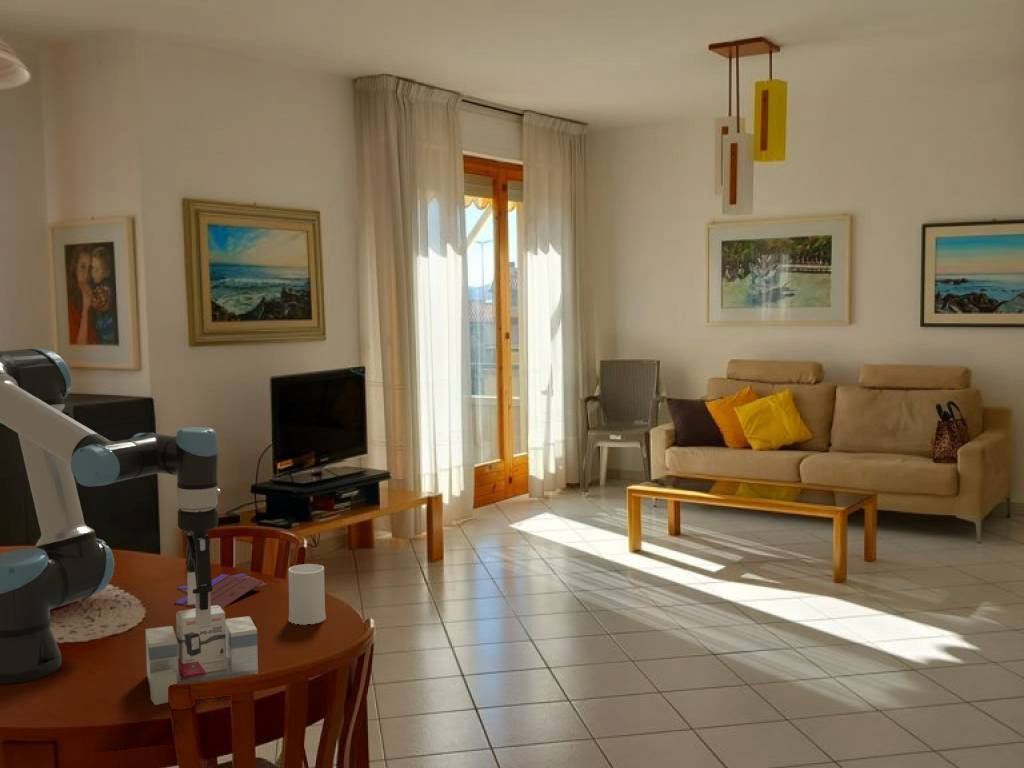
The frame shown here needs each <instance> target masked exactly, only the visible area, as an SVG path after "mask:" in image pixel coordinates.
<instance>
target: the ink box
mask: <svg viewBox="0 0 1024 768" xmlns="http://www.w3.org/2000/svg"><path fill="white" fill-rule="evenodd" d="M175 616H176V617H175V618H176V620H175V621H176V639H177V649H178V656H177V659H178V670H179V672H180V673H181V675H182V676H183V677H185V676H191V675H196V674H202V673H208V672H214V671H219V670H225V669H226V636H225V619H226V612H225V610H224V608H221V607H220V606H218V605H215V606H211V625H203V626H196V609H195V608H190V609H189V608H188V609H184V610H183V609H182V610H179V611H177V612H176V614H175Z"/></svg>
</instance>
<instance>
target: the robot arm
mask: <svg viewBox="0 0 1024 768" xmlns="http://www.w3.org/2000/svg"><path fill="white" fill-rule="evenodd" d="M71 387H72V376H71V371H70V369H69V367H68V365H67V363H66V362H65V360H64V359H63V358H62V357H61V356H60V355H59V354H57V353H56V352H55V351H53V350H49V349H44V348H43V349H42V348H41V349H38V348H28V349H24V348H23V349H12V350H0V424H2V425H4V426H5V427H7V428H9V429H11V430H12V431H13V432H16V434H17V436H18V439H19V443H20V444H19V445H20V449H21V453H22V457H23V462H24V467H25V470H26V474H27V479H28V483H29V487H30V491H31V492H30V493H31V495H32V499H33V500H32V501H33V504H34V508H35V512H36V513H35V514H36V517H37V521H38V525H39V529H40V530H39V531H40V534H41V535H40V537H39V539H38V540H37V542H36V543H35V547H27V548H21V549H19V550H17V549H16V550H15V549H14V550H13V549H12V550H9V551H7V552H6V551H5V552H3V553H1V554H0V685H2V684H3V685H5V684H15V683H16V684H17V683H23V682H29V681H33V680H37V679H40V678H43V677H45V676H46V677H47V676H49V675H51V674H53V673H55V672H56V671H58V670H59V669H60V668H61V667H62V653H61V650H60V647H59V645H58V643H57V641H56V638H55V635H54V633H53V631H52V628H51V613H50V612H51V610H53V609H56V608H59V607H62V606H65V605H69V604H71V603H74V602H77V601H80V600H84V599H88V598H91V597H92V596H94V595H96V594H100V592H102V591H104V590H105V589H106V588H107V586H109V584H110V581H111V580H112V578H113V576H114V571H115V559H114V554H113V552H112V549H111V548H110V546H109V545H107V542H105V540H103V539H100V538H97V537H96V532H95V529H93V528H91V527H89V526H87V524H86V522H85V519H84V515H83V510H82V506H81V502H80V497H79V493H78V489H77V485H76V482H77V483H78V484H80V485H82V486H83V487H87V488H89V487H90V488H91V487H97V486H98V487H103V486H107V485H110V484H114V483H118V482H122V481H126V480H131V479H136V478H140V477H147V476H151V475H155V474H156V475H157V474H166V475H173V476H176V477H177V478H176V481H177V482H176V484H177V485H176V506H177V507H178V508H179V509H178V510H177V527H178V529H179V530H181V531H184V532H187V536H186V559H185V565H186V570H187V572H186V575H187V576H186V577H187V579H186V582H187V594H186V596H187V595H188V605H189V604H195V607H194V609H196V626H203V625H211V591H212V589H213V588H212V582H211V580H212V569H211V568H212V567H211V551H210V546H211V538H210V537H209V535H208V534H207V531H209V530H214V529H215V528H217V527H218V525H219V509H218V507H217V505H218V504H219V503H218V502H219V501H218V495H220V494H221V493H222V491H221V489H220V488H218V485H219V483H218V468H219V467H218V466H219V465H218V464H219V460H218V459H219V447H218V446H219V445H218V435H217V432H216V430H214V429H213V428H211V427H206V426H205V427H204V426H200V427H199V426H192V427H191V426H190V427H184V428H180V429H178V430H177V432H176V436H175V435H167V434H159V433H156V432H139V433H136V434H134V435H132V436H131V438H129V439H123V440H116V441H113V440H109V439H108V438H107V437H104V436H103V435H101V434H99V433H98V432H96V431H94V430H92V429H91V428H89V427H87V426H86V425H83V424H82V423H80V422H78V421H77V420H75V419H73V418H72V417H70V416H69V415H67V414H65V413H63V411H64V409H65V407H66V403H65V398H67V397H68V396H69V394H70V392H71ZM204 584H206V586H202V585H204Z"/></svg>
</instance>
